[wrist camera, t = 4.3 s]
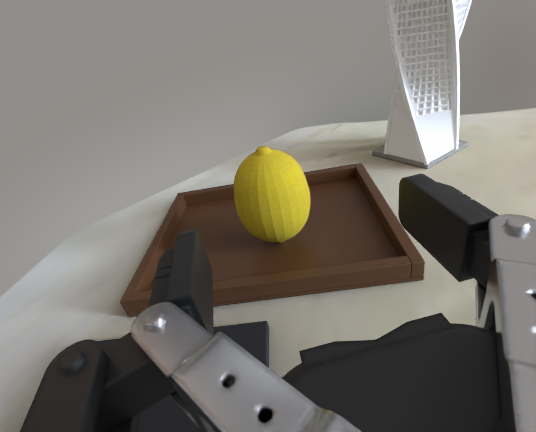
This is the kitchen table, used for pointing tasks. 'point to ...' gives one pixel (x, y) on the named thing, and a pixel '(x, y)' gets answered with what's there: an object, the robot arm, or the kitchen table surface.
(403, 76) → the skyscraper
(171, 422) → the plate
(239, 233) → the tray
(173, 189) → the kitchen table surface
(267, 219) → the lemon
